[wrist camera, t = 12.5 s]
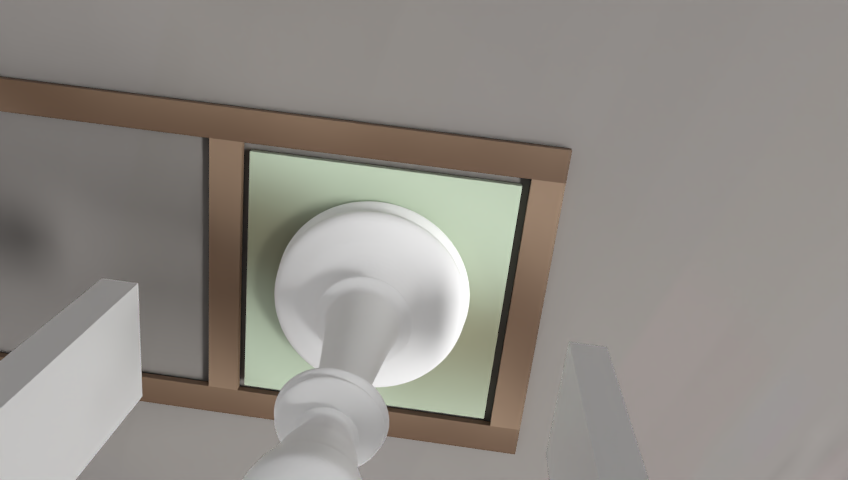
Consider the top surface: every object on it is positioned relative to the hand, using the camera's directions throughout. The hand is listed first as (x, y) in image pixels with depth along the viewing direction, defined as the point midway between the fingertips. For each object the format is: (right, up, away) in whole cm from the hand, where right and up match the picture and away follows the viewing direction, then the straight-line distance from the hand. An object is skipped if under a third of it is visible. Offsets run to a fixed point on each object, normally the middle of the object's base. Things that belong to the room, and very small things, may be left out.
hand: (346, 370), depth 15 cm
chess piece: (0, +1, +4) cm, 4 cm away
